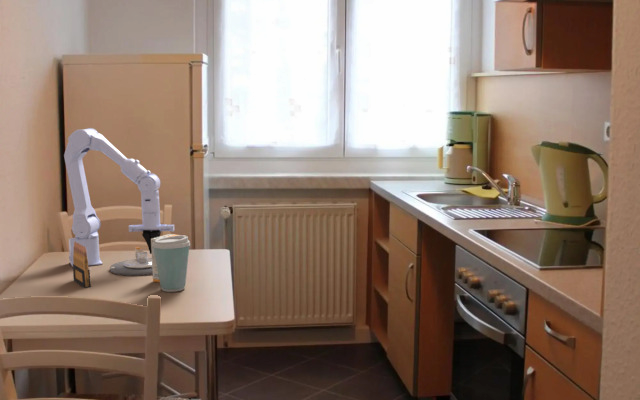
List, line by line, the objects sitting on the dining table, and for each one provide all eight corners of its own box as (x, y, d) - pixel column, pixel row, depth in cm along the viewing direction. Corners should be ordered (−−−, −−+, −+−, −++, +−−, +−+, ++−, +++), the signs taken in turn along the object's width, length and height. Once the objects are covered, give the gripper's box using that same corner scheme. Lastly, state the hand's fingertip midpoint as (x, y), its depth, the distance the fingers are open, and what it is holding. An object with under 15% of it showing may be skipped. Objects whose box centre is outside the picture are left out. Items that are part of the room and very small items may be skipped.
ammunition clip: (73, 280, 230) (71, 241, 228) (79, 279, 231) (77, 240, 229) (84, 288, 221) (82, 247, 219) (90, 287, 222) (88, 246, 220)
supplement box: (170, 275, 235) (169, 233, 233) (182, 277, 232) (181, 234, 230) (151, 281, 228) (150, 238, 226) (164, 283, 225) (162, 239, 223)
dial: (165, 266, 241) (165, 254, 241) (126, 270, 237) (126, 257, 236) (156, 257, 254) (155, 245, 254) (119, 261, 250) (118, 249, 249)
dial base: (115, 278, 232) (115, 274, 231) (106, 265, 250) (106, 261, 250) (181, 271, 239) (181, 267, 239) (167, 259, 258) (167, 255, 257)
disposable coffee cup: (155, 295, 212) (153, 242, 210) (152, 286, 222) (150, 235, 220) (194, 292, 215) (192, 239, 213) (189, 283, 225) (187, 232, 223)
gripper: (175, 209, 252) (177, 250, 254) (132, 210, 253) (134, 250, 254) (171, 213, 245) (172, 255, 247) (125, 213, 246) (128, 255, 247)
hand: (152, 253), depth 250 cm, fingers closed
